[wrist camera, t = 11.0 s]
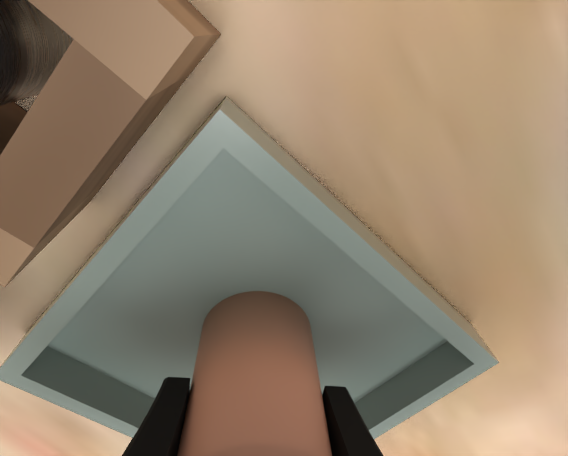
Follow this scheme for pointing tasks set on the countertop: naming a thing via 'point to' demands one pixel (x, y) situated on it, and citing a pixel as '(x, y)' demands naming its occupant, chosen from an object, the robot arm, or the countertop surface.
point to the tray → (242, 290)
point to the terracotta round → (255, 382)
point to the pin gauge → (27, 49)
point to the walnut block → (89, 112)
